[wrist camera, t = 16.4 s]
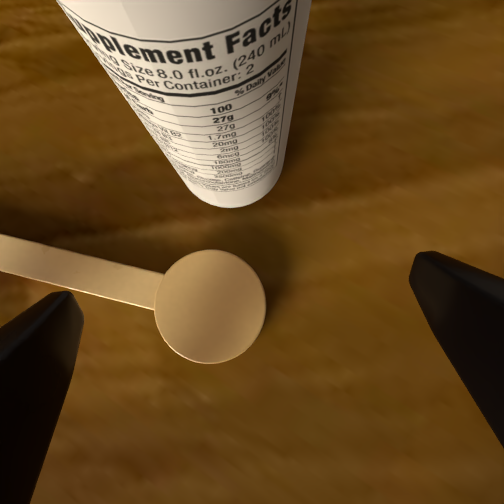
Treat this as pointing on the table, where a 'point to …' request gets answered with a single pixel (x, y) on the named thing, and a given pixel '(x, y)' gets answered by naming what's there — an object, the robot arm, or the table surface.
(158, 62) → the energy drink can
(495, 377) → the robot arm
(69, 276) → the wooden spoon
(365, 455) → the table surface
